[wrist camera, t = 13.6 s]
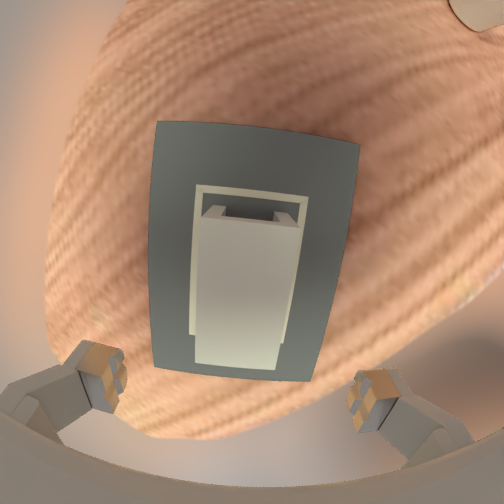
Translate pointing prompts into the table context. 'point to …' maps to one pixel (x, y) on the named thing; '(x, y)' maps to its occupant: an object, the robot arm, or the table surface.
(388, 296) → the table surface
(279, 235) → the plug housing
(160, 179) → the board
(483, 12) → the drinking glass
